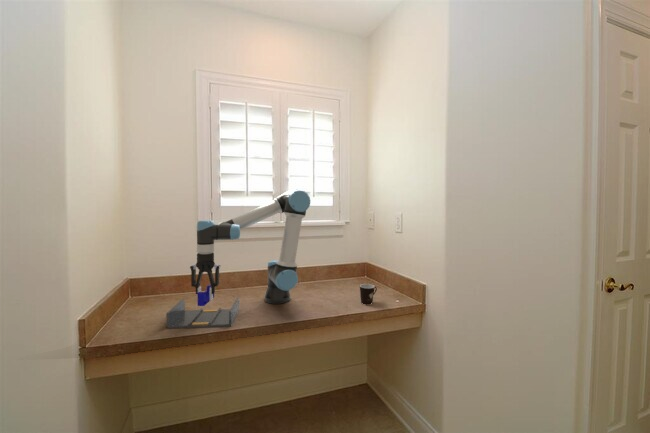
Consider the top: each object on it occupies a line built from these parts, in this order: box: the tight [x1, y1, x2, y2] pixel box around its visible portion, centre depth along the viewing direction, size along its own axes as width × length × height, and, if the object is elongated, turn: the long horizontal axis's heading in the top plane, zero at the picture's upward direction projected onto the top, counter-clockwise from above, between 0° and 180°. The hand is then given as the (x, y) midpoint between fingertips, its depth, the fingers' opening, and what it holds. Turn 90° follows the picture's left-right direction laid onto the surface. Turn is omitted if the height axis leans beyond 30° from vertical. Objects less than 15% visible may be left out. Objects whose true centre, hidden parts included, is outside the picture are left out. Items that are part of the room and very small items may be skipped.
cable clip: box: [197, 284, 215, 307], centre depth 132 cm, size 12×4×6 cm, turn 1°
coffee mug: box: [359, 283, 378, 305], centre depth 158 cm, size 12×9×10 cm
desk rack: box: [165, 297, 240, 329], centre depth 133 cm, size 28×18×7 cm, turn 97°
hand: (205, 300), depth 132 cm, fingers closed on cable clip, 5 cm apart
